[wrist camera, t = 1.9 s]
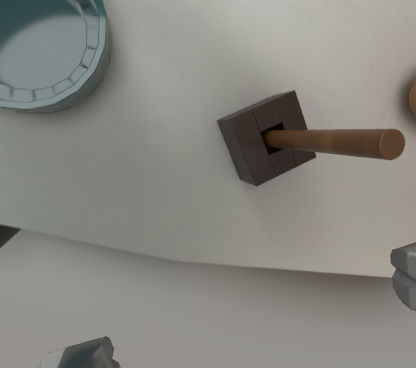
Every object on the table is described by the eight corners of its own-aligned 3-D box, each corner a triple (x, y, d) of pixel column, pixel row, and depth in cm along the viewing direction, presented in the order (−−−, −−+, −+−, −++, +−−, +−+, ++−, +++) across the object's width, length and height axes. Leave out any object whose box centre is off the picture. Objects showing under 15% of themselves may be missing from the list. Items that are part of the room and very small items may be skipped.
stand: (240, 179, 37) (256, 186, 32) (216, 120, 35) (230, 118, 31) (293, 154, 38) (316, 157, 34) (273, 95, 36) (295, 90, 32)
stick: (257, 148, 37) (392, 166, 18) (246, 138, 37) (374, 146, 17) (266, 137, 37) (411, 142, 18) (256, 127, 37) (393, 122, 18)
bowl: (50, 142, 32) (32, 144, 26) (-90, 38, 27) (-148, 13, 22) (139, 37, 32) (141, 16, 26) (14, -81, 28) (-16, -136, 22)
